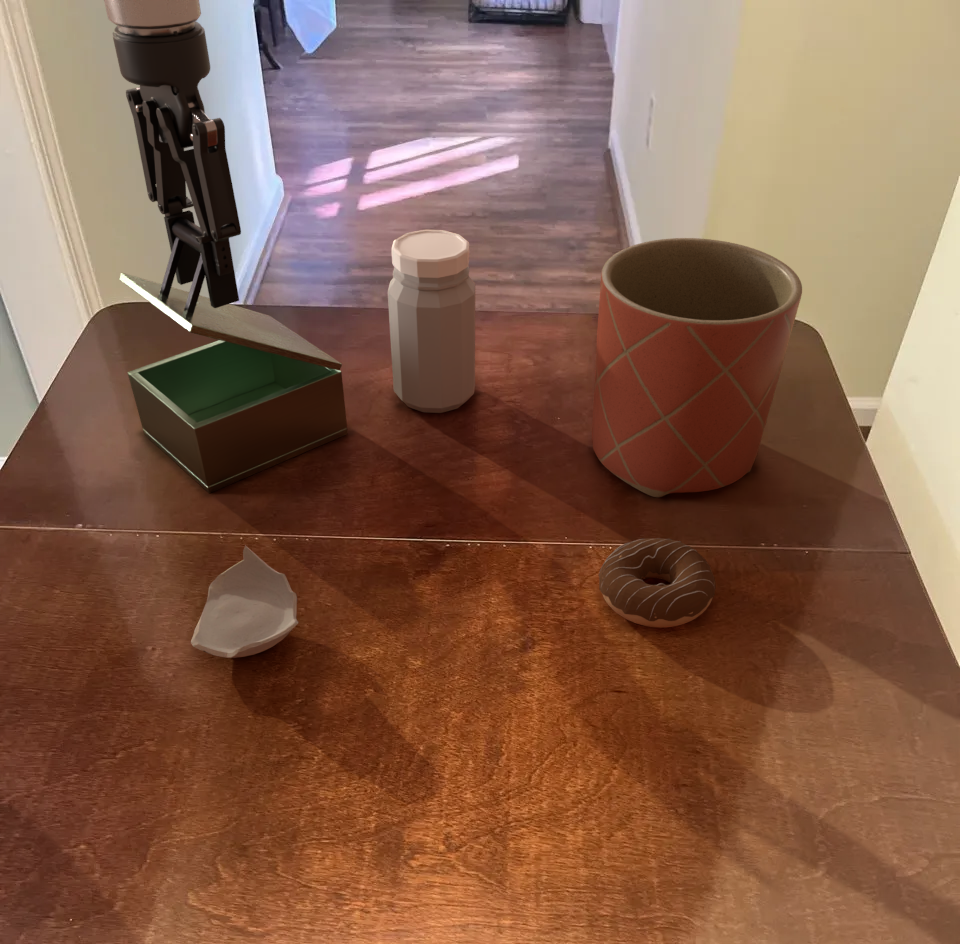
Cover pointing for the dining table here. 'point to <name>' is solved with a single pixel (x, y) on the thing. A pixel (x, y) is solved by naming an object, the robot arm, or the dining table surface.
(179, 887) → the dining table surface
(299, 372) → the compartment
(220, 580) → the pottery shard
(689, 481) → the planter
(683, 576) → the donut
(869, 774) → the dining table surface
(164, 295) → the lid
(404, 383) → the jar
